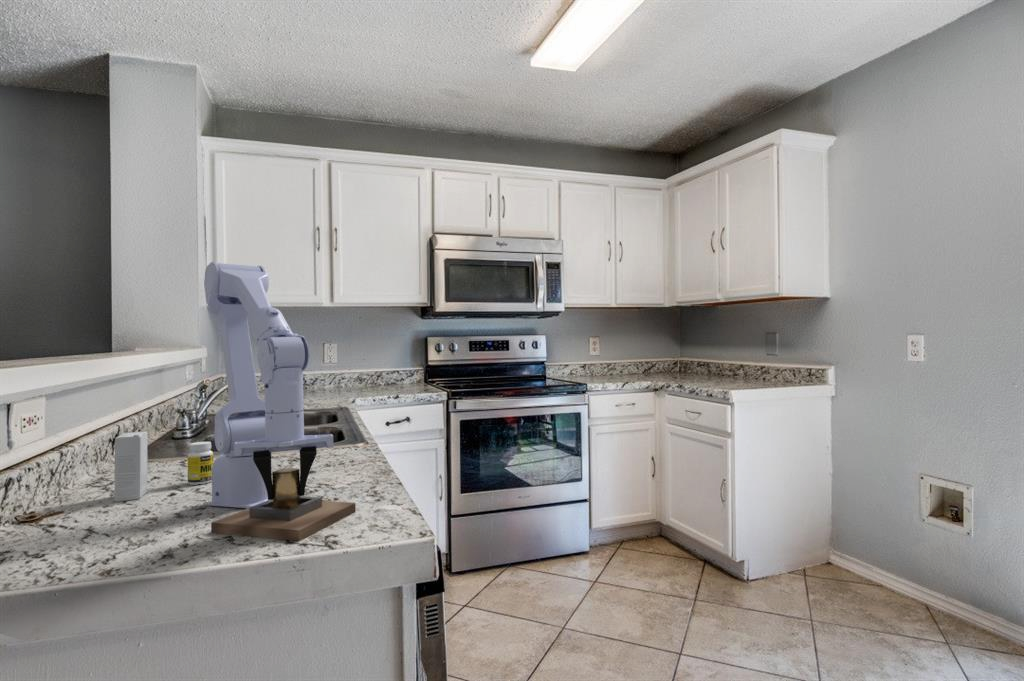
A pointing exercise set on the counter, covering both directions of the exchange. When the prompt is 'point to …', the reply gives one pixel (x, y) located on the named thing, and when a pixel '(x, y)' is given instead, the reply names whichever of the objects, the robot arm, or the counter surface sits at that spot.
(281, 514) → the frame
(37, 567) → the counter surface
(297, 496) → the brass cylinder
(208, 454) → the supplement bottle
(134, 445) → the skincare box
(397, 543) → the counter surface
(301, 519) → the jig plate
